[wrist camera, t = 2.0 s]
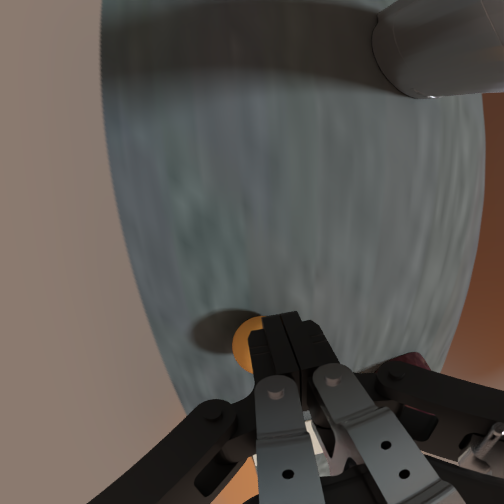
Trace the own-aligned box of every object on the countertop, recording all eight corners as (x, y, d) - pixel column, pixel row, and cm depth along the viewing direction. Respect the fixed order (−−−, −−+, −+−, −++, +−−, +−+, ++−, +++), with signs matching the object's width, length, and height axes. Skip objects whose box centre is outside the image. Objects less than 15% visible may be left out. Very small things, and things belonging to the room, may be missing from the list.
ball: (226, 309, 26) (229, 345, 21) (284, 300, 27) (299, 334, 21) (235, 353, 28) (239, 391, 23) (287, 344, 29) (299, 381, 23)
